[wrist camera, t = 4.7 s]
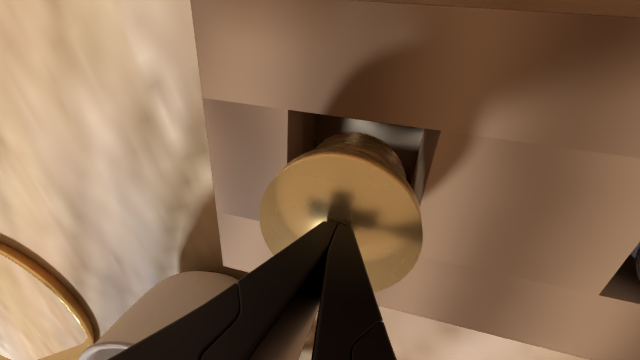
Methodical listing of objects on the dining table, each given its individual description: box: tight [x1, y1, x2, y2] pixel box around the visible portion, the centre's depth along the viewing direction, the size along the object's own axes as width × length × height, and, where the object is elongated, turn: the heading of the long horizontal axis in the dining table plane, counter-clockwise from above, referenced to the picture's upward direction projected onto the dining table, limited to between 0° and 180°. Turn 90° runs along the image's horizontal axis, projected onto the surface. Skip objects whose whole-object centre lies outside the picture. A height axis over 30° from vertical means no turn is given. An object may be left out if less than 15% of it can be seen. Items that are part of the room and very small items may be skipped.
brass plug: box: [259, 132, 423, 292], centre depth 10 cm, size 5×5×3 cm
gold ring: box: [0, 243, 94, 360], centre depth 36 cm, size 19×35×2 cm, turn 123°
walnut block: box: [190, 0, 640, 360], centre depth 12 cm, size 24×12×4 cm, turn 85°
